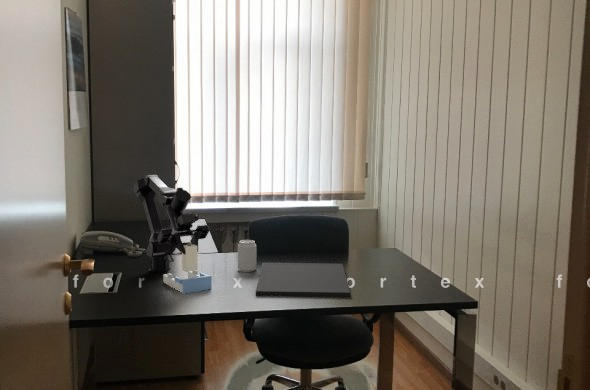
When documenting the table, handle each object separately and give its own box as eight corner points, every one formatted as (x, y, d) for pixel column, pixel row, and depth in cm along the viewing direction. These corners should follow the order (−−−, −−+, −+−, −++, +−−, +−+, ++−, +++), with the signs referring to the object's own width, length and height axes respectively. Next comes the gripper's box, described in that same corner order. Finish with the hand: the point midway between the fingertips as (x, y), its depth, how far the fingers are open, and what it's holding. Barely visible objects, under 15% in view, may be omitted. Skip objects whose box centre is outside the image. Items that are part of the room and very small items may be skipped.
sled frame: (163, 282, 235) (163, 269, 234) (190, 278, 241) (190, 265, 240) (183, 294, 220) (183, 280, 220) (211, 289, 227) (211, 275, 226)
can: (253, 273, 249) (253, 243, 248) (235, 271, 251) (235, 242, 249) (258, 268, 256) (258, 239, 255) (240, 267, 258) (240, 238, 256)
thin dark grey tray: (342, 269, 259) (262, 268, 259) (342, 263, 259) (262, 262, 259) (349, 299, 219) (255, 297, 219) (350, 292, 219) (255, 291, 219)
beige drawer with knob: (182, 269, 228) (181, 242, 227) (193, 268, 230) (192, 240, 229) (186, 271, 225) (185, 244, 224) (197, 270, 228) (197, 242, 226)
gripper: (159, 207, 223) (173, 242, 215) (207, 203, 233) (221, 237, 226) (151, 225, 230) (164, 261, 223) (198, 221, 241) (211, 254, 233)
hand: (191, 252), depth 226 cm, fingers closed on beige drawer with knob, 4 cm apart
